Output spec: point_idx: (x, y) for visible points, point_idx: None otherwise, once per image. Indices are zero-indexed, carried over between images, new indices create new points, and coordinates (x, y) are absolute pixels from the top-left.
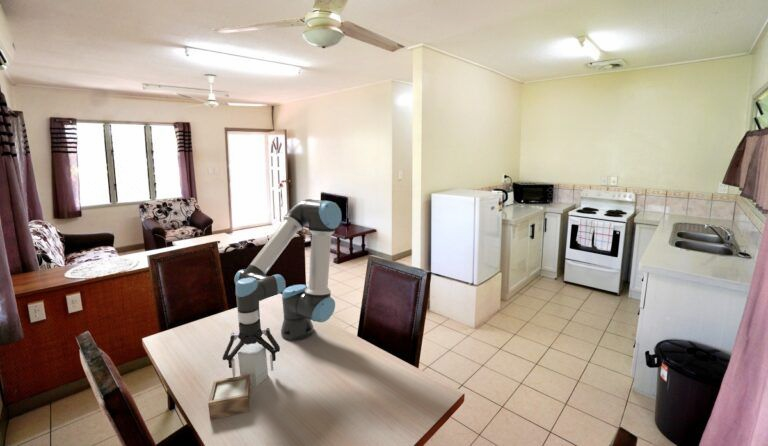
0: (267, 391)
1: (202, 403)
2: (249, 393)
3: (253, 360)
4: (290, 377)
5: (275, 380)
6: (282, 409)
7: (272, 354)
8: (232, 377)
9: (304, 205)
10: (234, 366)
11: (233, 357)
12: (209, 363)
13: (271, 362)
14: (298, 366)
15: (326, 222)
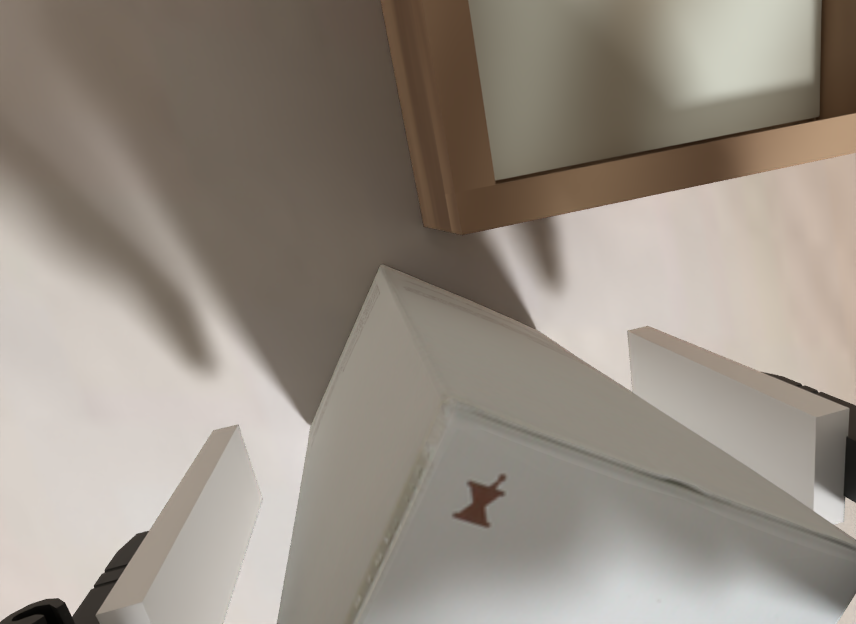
0: (242, 174)
1: None
2: (397, 23)
3: (443, 356)
4: (49, 391)
5: (209, 350)
6: None
7: (61, 616)
8: (682, 185)
9: None
10: (709, 397)
11: (825, 514)
12: None
13: (187, 493)
14: (20, 567)
15: None
